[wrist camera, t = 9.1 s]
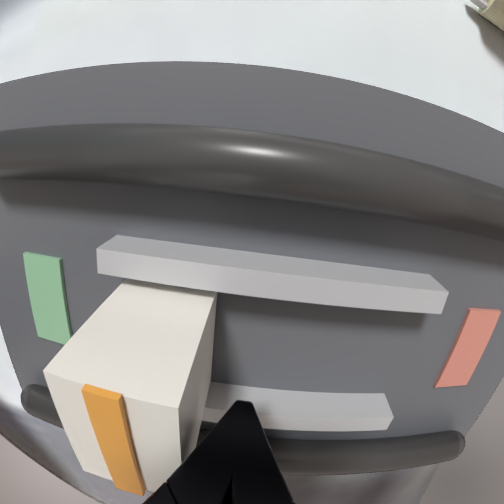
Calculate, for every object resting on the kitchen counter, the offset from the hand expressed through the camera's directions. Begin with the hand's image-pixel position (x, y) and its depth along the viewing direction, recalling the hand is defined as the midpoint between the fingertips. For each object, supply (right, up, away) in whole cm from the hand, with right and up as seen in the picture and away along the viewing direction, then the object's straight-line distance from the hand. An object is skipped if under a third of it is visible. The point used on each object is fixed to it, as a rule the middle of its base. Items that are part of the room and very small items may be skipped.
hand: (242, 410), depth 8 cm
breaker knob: (-3, +1, +3) cm, 4 cm away
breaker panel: (+1, +2, +6) cm, 6 cm away
